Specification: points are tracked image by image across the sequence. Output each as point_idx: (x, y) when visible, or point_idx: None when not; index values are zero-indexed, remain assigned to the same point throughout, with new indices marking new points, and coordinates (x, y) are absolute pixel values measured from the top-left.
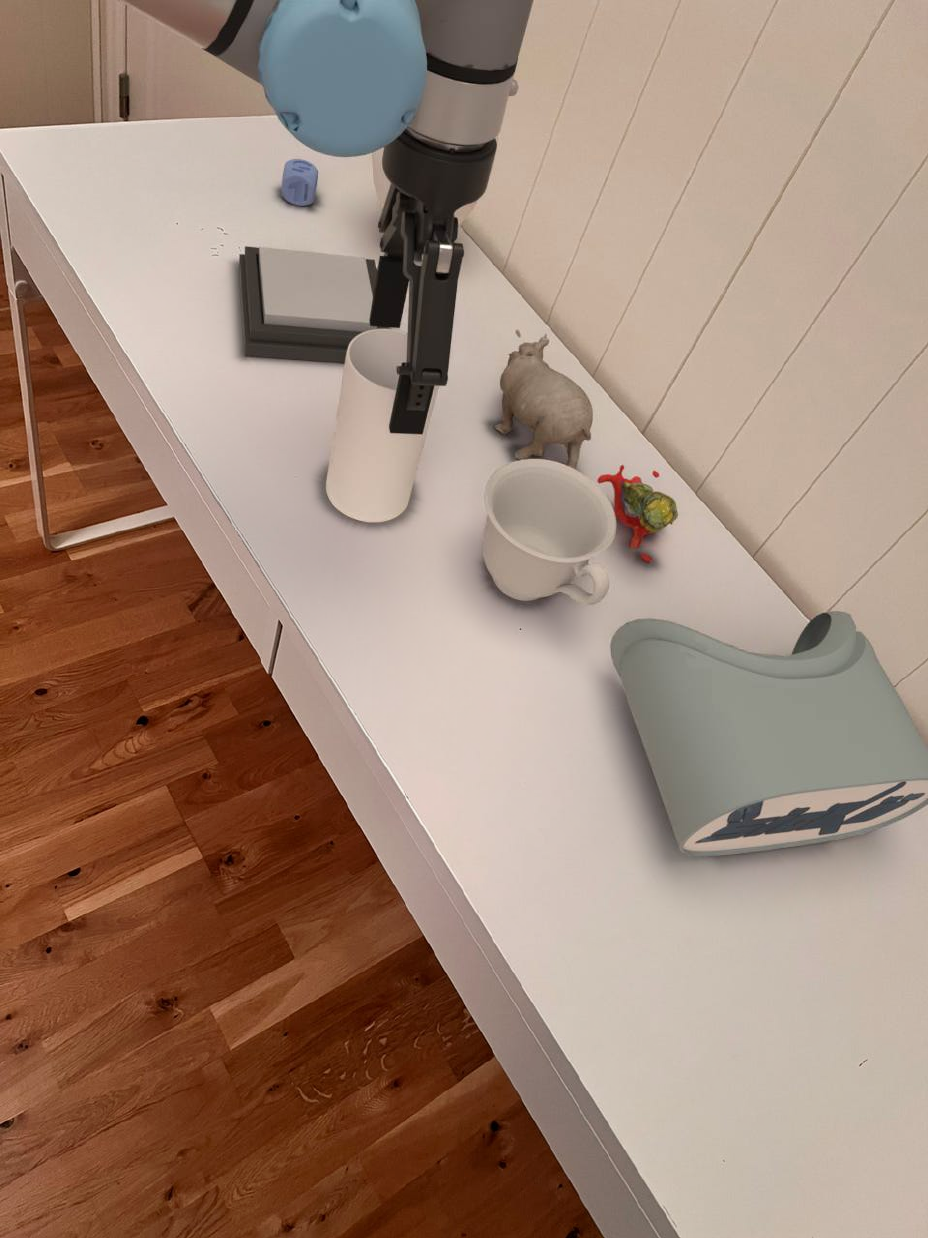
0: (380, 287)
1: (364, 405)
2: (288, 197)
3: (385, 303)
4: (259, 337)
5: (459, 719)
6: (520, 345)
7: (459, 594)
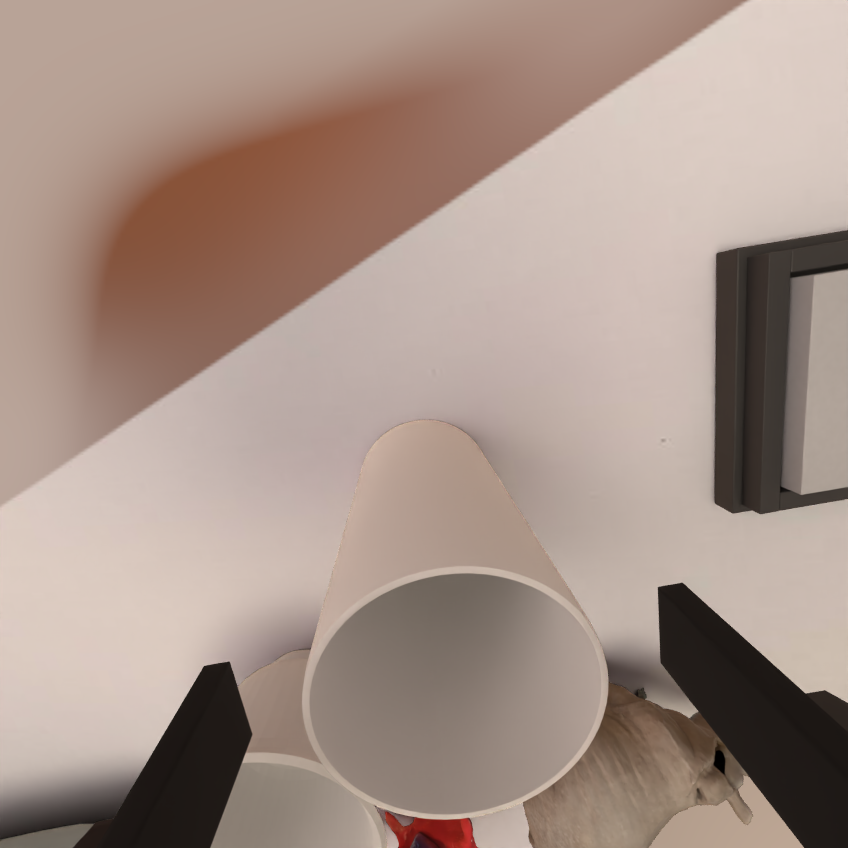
0: (772, 718)
1: (334, 581)
2: None
3: (717, 683)
4: (754, 273)
5: (52, 613)
6: (724, 780)
7: (257, 609)
